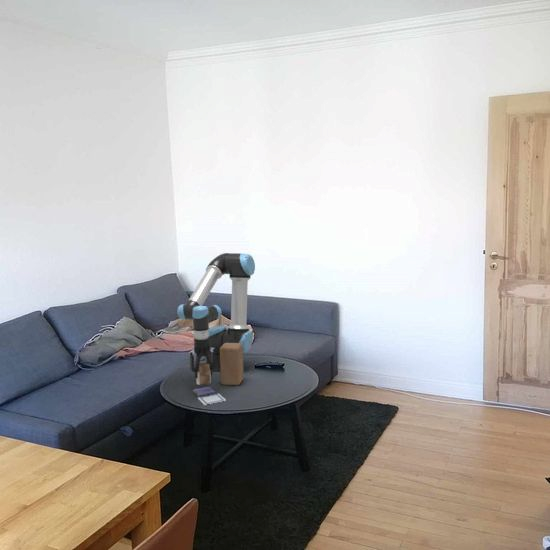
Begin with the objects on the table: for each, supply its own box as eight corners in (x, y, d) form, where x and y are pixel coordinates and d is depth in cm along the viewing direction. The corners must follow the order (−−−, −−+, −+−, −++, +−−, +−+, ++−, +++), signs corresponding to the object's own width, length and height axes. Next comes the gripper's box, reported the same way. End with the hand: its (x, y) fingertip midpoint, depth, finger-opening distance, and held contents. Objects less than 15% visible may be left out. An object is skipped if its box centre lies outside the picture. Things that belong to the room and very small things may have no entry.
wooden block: (239, 385, 296) (237, 348, 293) (220, 385, 298) (218, 347, 295) (244, 379, 306) (242, 342, 303) (226, 378, 308) (224, 342, 305)
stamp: (206, 381, 290) (205, 362, 289) (210, 384, 286) (209, 364, 284) (197, 382, 288) (196, 363, 287) (200, 386, 284) (199, 366, 282)
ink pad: (209, 388, 294) (209, 386, 294) (216, 394, 286) (216, 391, 286) (193, 391, 290) (192, 389, 290) (198, 397, 282) (198, 395, 282)
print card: (218, 394, 286) (218, 393, 286) (226, 400, 277) (226, 399, 277) (197, 398, 281) (197, 397, 281) (204, 405, 272) (204, 404, 272)
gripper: (186, 342, 276) (188, 388, 280) (221, 336, 284) (223, 382, 288) (181, 338, 283) (184, 384, 286) (216, 333, 291) (218, 377, 294)
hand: (203, 382), depth 287 cm, fingers closed on stamp, 5 cm apart
